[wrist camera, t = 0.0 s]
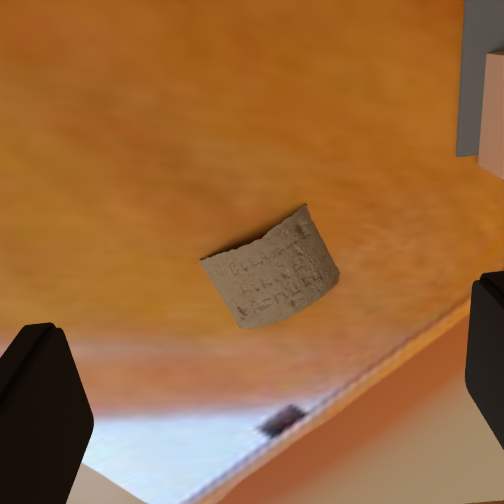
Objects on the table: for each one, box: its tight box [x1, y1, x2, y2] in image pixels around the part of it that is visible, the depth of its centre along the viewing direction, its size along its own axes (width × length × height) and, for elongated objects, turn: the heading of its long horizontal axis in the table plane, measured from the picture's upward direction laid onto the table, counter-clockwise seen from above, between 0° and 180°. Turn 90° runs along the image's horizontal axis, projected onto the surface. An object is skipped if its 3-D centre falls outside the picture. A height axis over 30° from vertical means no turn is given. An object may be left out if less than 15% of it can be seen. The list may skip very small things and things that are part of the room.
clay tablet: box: [198, 205, 340, 329], centre depth 51 cm, size 14×10×3 cm
